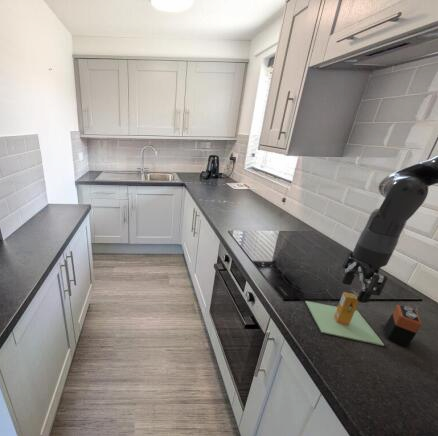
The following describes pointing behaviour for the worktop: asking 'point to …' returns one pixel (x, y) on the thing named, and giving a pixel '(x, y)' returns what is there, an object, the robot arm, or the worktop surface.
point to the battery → (403, 325)
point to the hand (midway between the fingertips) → (353, 292)
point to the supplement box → (346, 308)
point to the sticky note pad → (329, 325)
